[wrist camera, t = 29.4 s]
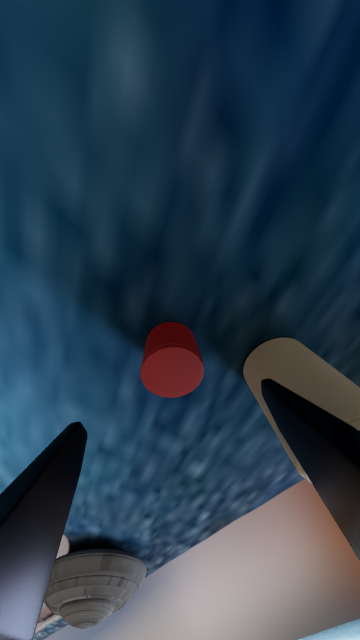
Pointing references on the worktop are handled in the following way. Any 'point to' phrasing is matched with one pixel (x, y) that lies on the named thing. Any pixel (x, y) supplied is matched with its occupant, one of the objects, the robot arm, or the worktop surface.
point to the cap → (171, 361)
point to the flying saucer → (93, 584)
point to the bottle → (302, 382)
